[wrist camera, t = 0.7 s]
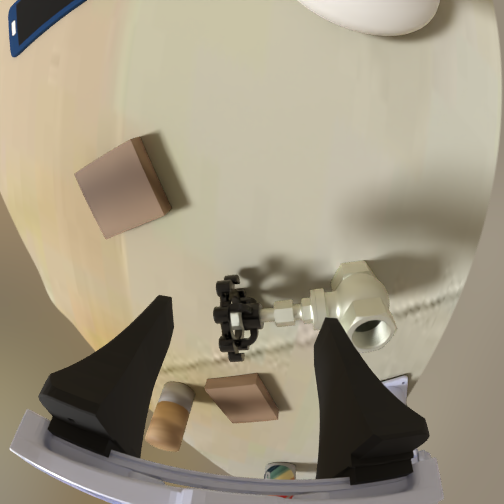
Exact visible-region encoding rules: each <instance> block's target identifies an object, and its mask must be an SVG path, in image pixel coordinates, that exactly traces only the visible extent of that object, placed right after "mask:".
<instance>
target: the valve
mask: <svg viewBox="0 0 504 504" xmlns="http://www.w3.org/2000/svg"><path fill="white" fill-rule="evenodd" d="M235 284H240V280H239V276H238V275H228V276H225V277H224V280H223V281H217V283H216V292H217V295H218V296H219V297H220V307H215V308H214V311H213V317H214V321H215V323H217V324H221V329H222V336H221V337H220V338H219V348H220V351H221V352H228V358H229V361H230V362H240V361H244V357H245V354H244V353H239V351H238V350H249V346H250V345H251V344H253V343H254V342H255V341H256V339H257V337H258V333H259V331H258V329H263V326H264V322H272V321H275V324H276V326H277V327H282V326H292V325H295V320H303V322H304V324H310V323H313V329H314V331H315V330H320V329H321V327H322V324H323V322H324V319H325V317H328V318H337V319H338V320H339V322H340V323H341V325H342V327H343V328H344V330H345V332H346V333H347V335H348V337H349V338H350V340H351V342H352V343H353V345H354V346H355V348H356V349H357V351H358V352H359V353H366V352H372V351H376V350H379V349H381V348H383V347H384V346H385V345H386V344H387V343H388V342H389V341H390V340H391V338H392V337H393V336H394V334H395V332H396V331H397V326H396V324H395V321H394V319H393V316H392V314H391V312H390V311H389V296H388V293H387V290H386V288H385V287H384V285H383V284H382V283H381V282H380V281H379V280H378V279H377V278H376V276H375V275H374V273H373V272H372V270H371V269H370V268H369V266H368V265H367V263H366V262H365V261H356V262H349V263H342V264H341V265H340V266H339V268H338V270H337V272H336V274H335V275H334V277H333V279H332V281H331V287H332V292H324V289H323V288H321V289H313V290H310V297H309V298H302V300H301V303H300V304H294V305H293V301H292V300H284V301H275V303H274V308H267V309H262V305H261V303H257V301H256V300H255V299H253V298H250V297H246V292H245V290H244V289H240V290H236V289H235V288H234V286H235ZM231 301H232V304H231ZM233 330H235V335H234V333H233ZM244 330H250V333H251V336H250V337H249V338H244Z"/></svg>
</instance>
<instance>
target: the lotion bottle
mask: <svg viewBox="0 0 504 504" xmlns="http://www.w3.org/2000/svg"><path fill="white" fill-rule="evenodd" d="M264 479H279V480H295V479H296V467H295V465H293V464H290V463H282V462H278V463H270V464H268V465H266V468H265V475H264ZM268 496H278V497H283V498H286V499H292V497H293V496H295V495H292V496H284V495H268Z"/></svg>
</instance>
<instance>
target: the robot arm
mask: <svg viewBox="0 0 504 504" xmlns="http://www.w3.org/2000/svg"><path fill="white" fill-rule="evenodd" d="M173 329H174V322H173V310H172V297H168V296H162V295H159V296H157V297H156V298H155V300H154V301H153V302H152V303H151V304H150V305H149V306H148V307H147V308H146V309H145V310H144V311H143V312H142V313H141V314H140V315H139V316H138V317H137V318H136V319H135V320H134V321H133V322H132V323H131V324H130V325H129V326H128V327H127V328H126V329H124V330H123V331H122V332H121V333H120V334H119V335H118V336H116V337H115V338H114V339H113V340H111V341H110V342H109V343H107V344H106V345H105V346H103V347H102V348H100V349H99V350H97V351H96V352H94V353H93V354H91V355H90V356H88V357H86V358H85V359H83V360H81V361H79V362H77V363H75V364H73V365H71V366H69V367H67V368H64V369H62V370H59V371H57V372H55V373H51V374H50V376H49V377H48V379H47V380H46V382H45V384H44V386H43V388H42V390H41V392H40V394H39V400H40V402H41V403H42V405H43V406H44V407H45V408H46V409H47V410H48V412H49V413H50V414H51V415H52V416H53V417H52V420H51V421H49V420H48V419H47V418H45V417H43V416H41V415H39V414H37V413H35V412H33V411H31V410H30V409H27V410H26V412H25V414H24V416H23V418H22V421H21V423H20V425H19V427H18V429H17V432H16V434H15V436H14V439H13V441H12V443H11V446H10V450H11V451H12V452H14V453H15V454H16V455H18V456H19V457H21V458H22V459H24V460H25V461H27V462H28V463H29V464H31V465H32V466H34V467H36V468H37V469H39V470H41V471H43V472H45V473H46V474H48V475H50V476H52V477H54V478H56V479H58V480H60V481H62V482H64V483H66V484H68V485H70V486H72V487H74V488H76V489H78V490H80V491H83V492H85V493H88V494H90V495H92V496H94V497H97V498H100V499H102V500H104V501H107V502H110V503H112V504H438V502H439V501H441V500H443V499H444V495H443V489H442V484H441V478H440V474H439V469H438V463H437V459H436V458H435V457H434V458H431V455H430V453H429V452H426V451H425V450H421V451H418V449H417V448H418V447H419V446H420V445H422V444H423V443H424V442H425V441H427V439H428V438H429V431H428V427H427V424H426V420H425V418H423V417H421V416H420V415H419V414H417V413H416V412H414V411H413V410H412V409H410V408H409V407H407V404H406V399H407V386H408V377H407V376H406V375H404V376H401V377H397V378H394V379H390V380H387V381H383V382H381V381H380V380H379V379H378V378H377V376H376V375H375V374H374V373H373V372H372V370H371V369H370V368H369V367H368V365H367V364H366V362H365V361H364V360H363V358H362V357H361V355H360V354H359V352H358V351H357V349H356V348H355V346H354V345H353V343H352V342H351V340H350V338H349V337H348V335H347V333H346V332H345V330H344V328H343V327H342V325H341V323H340V322H339V320H338V319H337V318H328V317H325V319H324V322H323V324H322V327H321V329H320V332H319V334H318V337H317V339H316V342H315V344H314V367H315V375H316V382H317V389H318V397H319V407H320V435H319V453H318V464H317V473H316V479H309V480H279V479H257V478H244V477H234V476H225V475H217V474H209V473H203V472H198V471H192V470H186V469H181V468H177V467H172V466H167V465H163V464H159V463H155V462H151V461H147V460H144V459H140V455H141V447H142V441H143V434H144V429H145V423H146V418H147V413H148V408H149V404H150V400H151V396H152V391H153V388H154V385H155V382H156V379H157V376H158V374H159V371H160V369H161V366H162V363H163V361H164V358H165V356H166V353H167V350H168V348H169V345H170V341H171V337H172V333H173ZM160 480H161V481H160ZM163 481H166V482H170V483H175V484H180V485H184V486H190V487H195V488H179V487H172V486H167V485H165V483H164V482H163ZM198 488H201V489H198ZM206 489H208V490H206ZM213 490H215V491H213ZM221 491H222V492H221ZM229 492H231V493H229ZM239 493H241V494H239ZM252 494H255V495H252ZM268 495H284V496H292V495H295V496H293V497H292V499H286V498H283V497H278V496H268Z"/></svg>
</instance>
